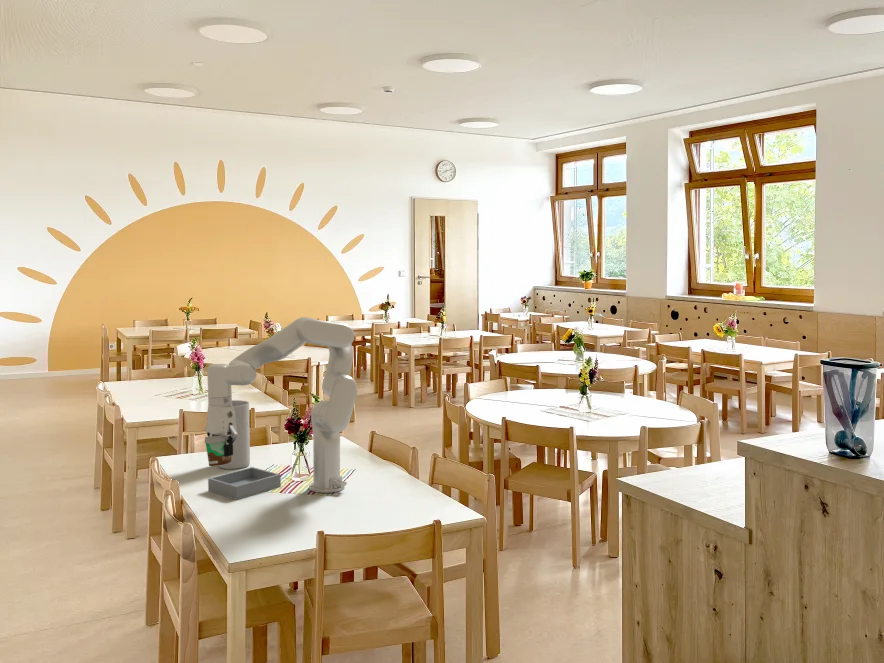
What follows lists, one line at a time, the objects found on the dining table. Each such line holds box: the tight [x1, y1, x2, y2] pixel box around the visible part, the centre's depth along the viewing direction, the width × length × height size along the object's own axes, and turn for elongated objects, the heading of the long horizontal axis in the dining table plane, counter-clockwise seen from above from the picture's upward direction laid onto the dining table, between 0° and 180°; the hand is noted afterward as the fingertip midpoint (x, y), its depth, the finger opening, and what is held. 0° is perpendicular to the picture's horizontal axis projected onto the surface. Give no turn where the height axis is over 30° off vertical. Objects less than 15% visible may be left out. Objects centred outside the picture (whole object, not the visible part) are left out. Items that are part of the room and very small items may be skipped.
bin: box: [207, 466, 282, 500], centre depth 282 cm, size 16×20×4 cm
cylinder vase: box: [218, 399, 251, 470], centre depth 311 cm, size 12×12×25 cm
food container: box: [204, 433, 231, 467], centre depth 263 cm, size 12×6×10 cm, turn 167°
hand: (221, 453), depth 263 cm, fingers closed on food container, 6 cm apart
